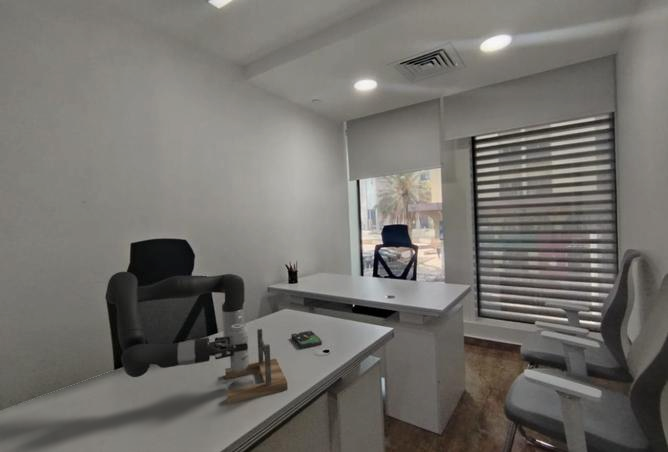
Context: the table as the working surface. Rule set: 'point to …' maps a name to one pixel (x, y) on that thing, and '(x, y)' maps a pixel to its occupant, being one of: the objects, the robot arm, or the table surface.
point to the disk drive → (306, 339)
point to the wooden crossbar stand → (268, 371)
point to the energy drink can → (239, 337)
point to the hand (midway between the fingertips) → (246, 343)
